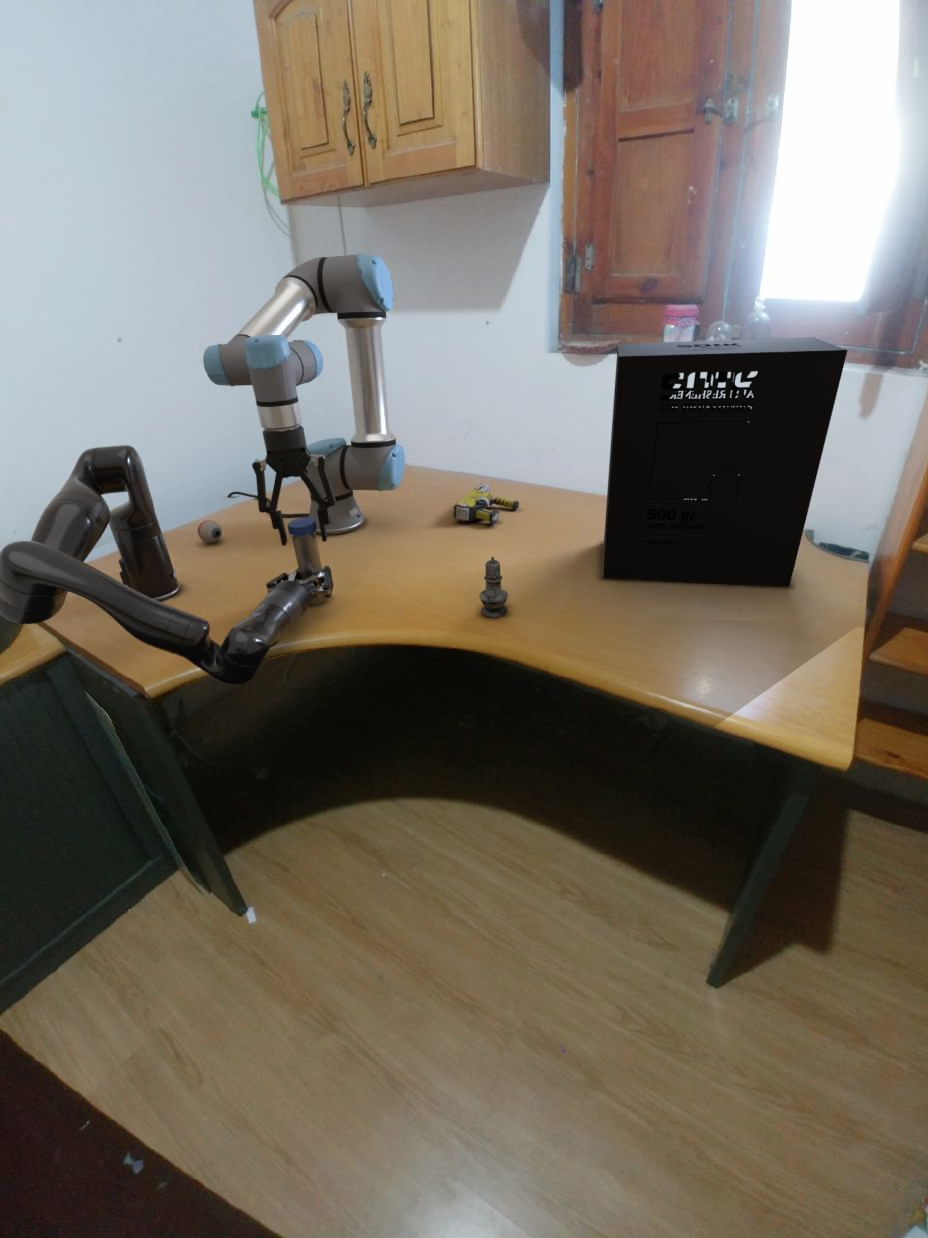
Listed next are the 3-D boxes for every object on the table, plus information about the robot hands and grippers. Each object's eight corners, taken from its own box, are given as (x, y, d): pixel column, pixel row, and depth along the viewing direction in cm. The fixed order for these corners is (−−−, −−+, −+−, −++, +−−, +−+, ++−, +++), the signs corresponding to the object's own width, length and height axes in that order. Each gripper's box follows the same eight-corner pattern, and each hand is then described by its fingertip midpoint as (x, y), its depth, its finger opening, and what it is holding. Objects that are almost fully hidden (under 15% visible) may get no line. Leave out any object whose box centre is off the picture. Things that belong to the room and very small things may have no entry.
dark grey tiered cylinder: (506, 618, 119) (505, 563, 113) (477, 616, 120) (474, 562, 114) (510, 604, 124) (509, 550, 118) (482, 602, 125) (480, 549, 119)
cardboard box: (767, 547, 142) (813, 337, 119) (789, 586, 125) (847, 349, 102) (603, 542, 149) (617, 343, 127) (603, 578, 132) (618, 356, 110)
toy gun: (527, 488, 179) (479, 481, 183) (505, 513, 159) (452, 504, 162) (525, 503, 181) (478, 496, 185) (503, 529, 161) (451, 520, 165)
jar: (321, 593, 133) (307, 520, 125) (331, 600, 130) (318, 526, 122) (301, 600, 131) (286, 526, 122) (311, 607, 128) (296, 532, 119)
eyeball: (211, 547, 159) (205, 526, 156) (196, 543, 162) (190, 522, 159) (229, 539, 163) (224, 518, 160) (214, 536, 166) (209, 515, 164)
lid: (299, 524, 126) (298, 516, 125) (322, 527, 124) (320, 518, 123) (283, 534, 121) (281, 526, 120) (306, 537, 119) (304, 528, 118)
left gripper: (252, 623, 118) (289, 583, 133) (321, 626, 116) (350, 586, 130) (243, 589, 115) (282, 552, 129) (314, 591, 112) (345, 554, 127)
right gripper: (338, 418, 116) (355, 529, 128) (230, 427, 114) (257, 539, 126) (336, 426, 110) (354, 543, 121) (222, 436, 108) (251, 553, 119)
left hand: (316, 569), depth 130 cm, fingers closed on jar, 4 cm apart
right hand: (304, 540), depth 124 cm, fingers open, 7 cm apart
